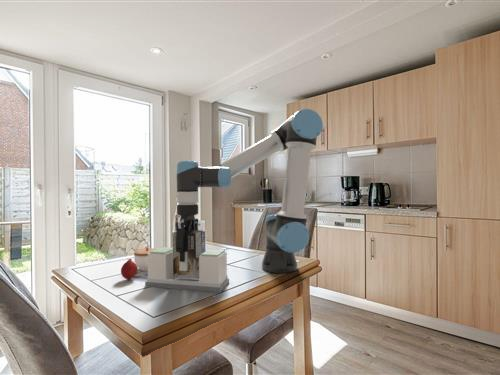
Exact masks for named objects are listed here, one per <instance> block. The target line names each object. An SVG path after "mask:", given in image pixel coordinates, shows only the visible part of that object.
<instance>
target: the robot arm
mask: <svg viewBox="0 0 500 375" xmlns="http://www.w3.org/2000/svg"><path fill="white" fill-rule="evenodd" d="M323 127H324V123H323V119H322V117H321V116H320V114H319V112H317V111H315V110H314V109H311V108H302V109H300V110H297V111H295V112H294V113H293V114H292V115H291V116H290V117H289V118H288V119H286V120H285V121H284V122H283V123H282V124H281V125H279V127H277V128H276V129H274V130H272V131H270V134H269V136H267V137H265V138H263V139H261V140H260V141H258V142H257V143H254V144H253V145H250V146H249V147H247V148H245V149H243V150H242V151H240V152H239V153H237V154H235V155H234V156H232V157H230V158H228V159H227V160H225V161H223V162H221V163H220V164H218V165H216V166H199V163H198V161H196V160H180V161H178V162H177V165H176V203H177V205H176V214H177V215H178V216H180V220H179V222H178V221H177V222H176V223H175V229H176V231H175V232H176V252H179V271H188V253H187V252H186V249H187V233H190V231H194V230H199V218H196V217H195V216H197V215H199V204H198V203H199V188H211V189H215V188H229V187H230V186H231V185H232V179H233V178H234V177H236V176H238V175H239V174H242V173H243V172H245V171H246V170H248V169H250V168H252V167H253V166H255V165H258V163H260V162H262V161H263V160H266V159H267V158H269V157H271V156H273V155H274V154H276V153H277V152H283V151H285V150H287V149H288V154H287V159H286V160H287V161H286V169H285V176H284V185H283V192H282V200H281V201H282V202H281V209H280V210H279V211H278V212H276V214H271V215H269V214H268V215H266V217H265V223H264V224H265V253H264V256H263V259H262V261H261V269H262V270H263V271H265V272H268V273H274V274H275V273H276V274H285V273H286V274H288V273H293V272H295V271H297V270H298V262H297V259H296V256H295V254H297V253H298V252H301V251H302V250H304V249H305V248H306V247H307V245H308V243H309V240H310V232H309V229H308V228H307V220H308V217H307V215H306V214H305V202H306V195H307V188H308V179H309V171H310V164H311V155H312V154H311V153H312V151H313V150H314V149H316V147H317V140H318V137H319V136H320V134H321V133H322V131H323Z"/></svg>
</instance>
